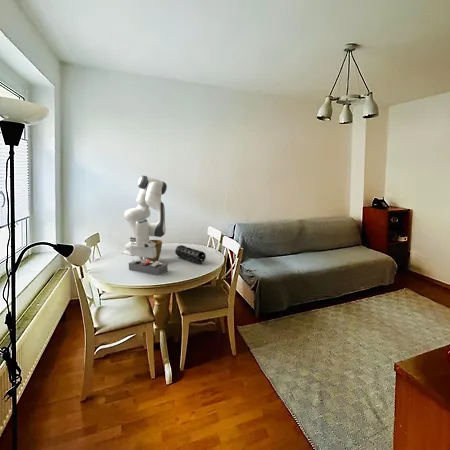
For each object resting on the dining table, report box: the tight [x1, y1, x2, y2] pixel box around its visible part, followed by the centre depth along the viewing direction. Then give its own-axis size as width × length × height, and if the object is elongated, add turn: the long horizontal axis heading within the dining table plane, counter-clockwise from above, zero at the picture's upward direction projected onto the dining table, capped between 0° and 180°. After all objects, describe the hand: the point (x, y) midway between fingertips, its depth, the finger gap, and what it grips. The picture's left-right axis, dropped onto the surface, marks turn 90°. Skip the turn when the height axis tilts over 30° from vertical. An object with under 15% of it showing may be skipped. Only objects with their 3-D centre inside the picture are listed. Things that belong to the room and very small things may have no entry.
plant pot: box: [146, 239, 163, 262], centre depth 229 cm, size 15×15×16 cm
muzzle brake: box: [174, 244, 206, 265], centre depth 233 cm, size 10×28×10 cm, turn 45°
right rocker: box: [151, 260, 161, 267], centre depth 204 cm, size 3×6×2 cm, turn 155°
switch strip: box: [128, 258, 169, 276], centre depth 209 cm, size 26×10×5 cm, turn 65°
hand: (143, 262), depth 205 cm, fingers closed
